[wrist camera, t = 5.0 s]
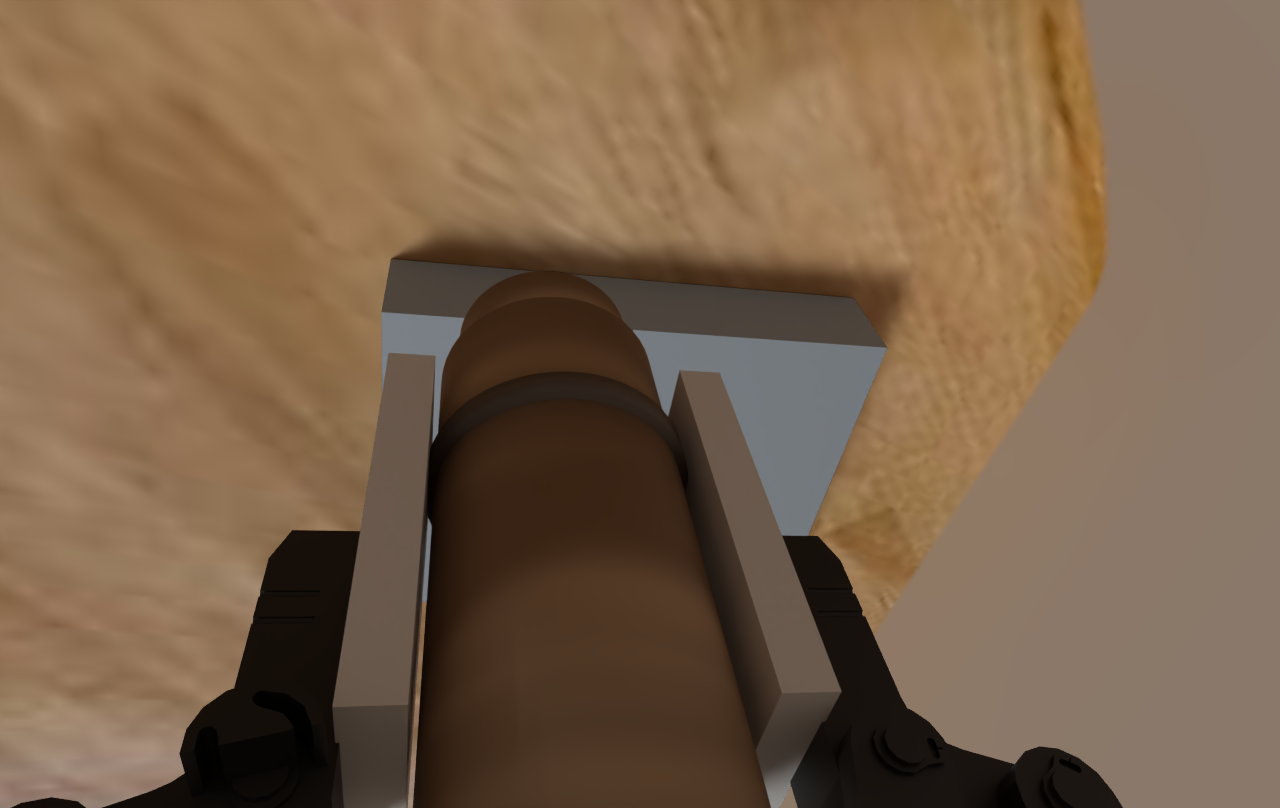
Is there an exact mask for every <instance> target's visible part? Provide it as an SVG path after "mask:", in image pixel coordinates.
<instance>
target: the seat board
mask: <svg viewBox="0 0 1280 808" xmlns="http://www.w3.org/2000/svg"><path fill="white" fill-rule="evenodd" d="M527 272H534V271H527V270H515V269H503V268H492V267H480V266H468V265H456V264H444V263H432V262H420V261H409V260H397V259H391V262H390V267H389V273H388V278H387V284H386V290H385V295H384V301H383V307H382V312H381V313H382V391H383V385H384V378H385V372H386V366H387V359H388V353H401V354H418V355H434V356H436V358H435V387H434V415H433V441H434V439H435V437H436V435H437V433H438V425H439V410H440V395H441V381H442V373H443V368H444V365H445V361H446V358H447V356H448V354H449V352H450V350H451V348H452V346H453V345H454V343H455V342H456V341H457V339H458V338H459V337H460V332H461V327H462V324H463V321H464V318H465V316H466V314H467V312H468V310H469V309H470V307H471V306H472V304H473V303H474V302H475V301H476V300H477V299H478V298H479V296H480V295H481V294H483V293H484V292H485V291H486V290H487V289H489V288H490V287H492V286H493V285H495V284H496V283H498V282H500V281H502V280H504V279H507V278H509V277H512V276H515V275H518V274H522V273H527ZM571 275H574V274H571ZM575 276H577V277H580V278H582V279H585V280H587V281H588V282H590V283H592V284H594V285H595V286H597V287H598V288H599V289H601V290H602V291H603V292H604V293H605V294H606V295H607V296H608V297H609V298H610V299H611V300H612V301H613V303H614V304H615V305H616V307H617V309H618V311H619V313H620V315H621V317H622V320H623V322H625V323H626V324H627V325H628V326H629V327H630V328H631V329H632V330H633V332H634V333H635V334H636V336H637V337H638V338H639V339H640V341H641V343H642V345H643V347H644V349H645V351H646V354H647V356H648V359H649V363H650V366H651V370H652V374H653V377H654V381H655V385H656V388H657V392H658V396H659V399H660V403H661V407H662V410H663V411H664V412H665V413H666V415H667V416H668V415H669V411H670V407H671V403H672V399H673V395H674V391H675V387H676V382H677V378H678V374H679V370H684V371H700V372H717V373H720V374H721V377H722V380H723V382H724V385H725V388H726V390H727V393H728V395H729V398H730V401H731V403H732V406H733V409H734V411H735V414H736V416H737V419H738V422H739V424H740V427H741V430H742V432H743V435H744V437H745V440H746V443H747V445H748V448H749V450H750V453H751V456H752V458H753V461H754V464H755V466H756V469H757V471H758V474H759V477H760V479H761V482H762V485H763V487H764V490H765V492H766V495H767V498H768V500H769V503H770V506H771V508H772V511H773V513H774V516H775V519H776V521H777V524H778V526H779V529H780V532H781V534H782V535H786V536H808V534H809V532H810V529H811V527H812V524H813V522H814V520H815V517H816V515H817V513H818V510H819V508H820V506H821V503H822V501H823V499H824V496H825V494H826V491H827V489H828V487H829V484H830V482H831V480H832V477H833V475H834V473H835V470H836V468H837V465H838V463H839V461H840V458H841V456H842V454H843V451H844V449H845V447H846V444H847V442H848V439H849V437H850V435H851V432H852V430H853V428H854V425H855V423H856V421H857V418H858V416H859V413H860V411H861V409H862V406H863V404H864V402H865V399H866V397H867V395H868V392H869V390H870V388H871V385H872V383H873V380H874V378H875V376H876V373H877V371H878V369H879V366H880V364H881V362H882V359H883V357H884V354H885V352H886V350H887V347H886V345H885V344H884V342H883V341H882V339H881V338H880V336H879V335H878V333H877V332H876V330H875V329H874V328H873V326H872V325H871V323H870V322H869V320H868V319H867V317H866V316H865V314H864V313H863V311H862V310H861V308H860V307H859V305H858V304H857V302H856V301H855V299H854V298H847V297H835V296H823V295H811V294H799V293H788V292H776V291H764V290H752V289H740V288H728V287H717V286H705V285H693V284H681V283H669V282H657V281H646V280H634V279H622V278H610V277H598V276H586V275H575ZM431 530H432V525H431V523H430V521H429V519H428V530H427V544H426V558H425V571H424V585H423V599H422V602H425V601H427V590H428V575H429V560H430V545H431Z"/></svg>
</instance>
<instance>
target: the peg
mask: <svg viewBox="0 0 1280 808" xmlns="http://www.w3.org/2000/svg"><path fill="white" fill-rule="evenodd" d="M687 484H688V470H687V464H686V460H685V456H684V453H683V449H682V446H681V442H680V439H679V437H678V434H677V431H676V429H675V427H674V425H673V424H672V422H671V420H670V419H669V417H668V416H667V415H666V413H665V412H664V411H663V410H662V407H661V403H660V399H659V396H658V392H657V388H656V385H655V381H654V377H653V374H652V370H651V366H650V363H649V359H648V356H647V354H646V351H645V349H644V347H643V345H642V343H641V341H640V339H639V338H638V337H637V336H636V334H635V333H634V332H633V330H632V329H631V328H630V327H629V326H628V325H627V324H626V323H625V322H623V320H622V317H621V315H620V313H619V311H618V309H617V307H616V305H615V304H614V303H613V301H612V300H611V299H610V298H609V297H608V296H607V295H606V294H605V293H604V292H603V291H602V290H601V289H599V288H598V287H597V286H595V285H594V284H592V283H590V282H588V281H587V280H585V279H582V278H580V277H577V276H575V275H571V274H567V273H563V272H556V271H534V272H527V273H522V274H518V275H515V276H512V277H509V278H507V279H504V280H502V281H500V282H498V283H496V284H495V285H493V286H492V287H490V288H489V289H487V290H486V291H485V292H484V293H483V294H481V295H480V296H479V298H478V299H477V300H476V301H475V302H474V303H473V304H472V306H471V307H470V309H469V310H468V312H467V314H466V316H465V318H464V321H463V324H462V327H461V332H460V337H459V338H458V339H457V341H456V342H455V343H454V345H453V346H452V348H451V350H450V352H449V354H448V356H447V358H446V361H445V365H444V368H443V373H442V381H441V395H440V410H439V425H438V433H437V435H436V437H435V439H434V441H433V443H432V445H431V449H430V459H429V473H428V504H427V515H428V519H429V521H430V523H431V525H432V530H431V545H430V560H429V575H428V590H427V605H426V620H425V635H424V650H423V665H422V680H421V695H420V710H419V725H418V740H417V755H416V770H415V785H414V800H413V808H771V805H770V801H769V798H768V794H767V790H766V787H765V783H764V780H763V776H762V772H761V769H760V765H759V761H758V758H757V754H756V750H755V747H754V743H753V739H752V736H751V732H750V728H749V725H748V721H747V717H746V714H745V710H744V706H743V703H742V699H741V695H740V692H739V688H738V684H737V681H736V677H735V673H734V670H733V666H732V662H731V659H730V655H729V652H728V648H727V644H726V641H725V637H724V633H723V630H722V626H721V622H720V619H719V615H718V611H717V608H716V604H715V600H714V597H713V593H712V589H711V586H710V582H709V578H708V575H707V571H706V567H705V564H704V560H703V556H702V553H701V549H700V545H699V542H698V538H697V535H696V531H695V527H694V524H693V520H692V516H691V513H690V509H689V505H688V502H687V498H686V494H685V491H686V487H687Z"/></svg>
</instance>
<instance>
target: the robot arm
mask: <svg viewBox="0 0 1280 808" xmlns="http://www.w3.org/2000/svg"><path fill="white" fill-rule="evenodd" d="M435 358H436V356H434V355H418V354H401V353H388V359H387V366H386V372H385V378H384V385H383V391H382V397H381V404H380V410H379V416H378V423H377V429H376V435H375V441H374V448H373V454H372V460H371V467H370V473H369V479H368V486H367V492H366V498H365V505H364V511H363V517H362V523H361V530H360V531H307V530H292V531H291V533H290V534H289V535H288V536H287V537H286V538H285V540H284V541H283V542H282V543H281V544H280V546H279V547H278V548H277V549H276V550H275V552H274V553H273V554H272V555H271V556H270V558H269V560H268V564H267V567H266V571H265V575H264V579H263V582H262V586H261V590H260V597H258V601H257V605H256V608H255V612H254V616H253V624H251V627H250V631H249V635H248V638H247V642H246V646H245V650H244V653H243V657H242V661H241V665H240V668H239V672H238V676H237V680H236V683H235V687H234V689H231V690H228V691H226V692H224V693H223V694H222V695H220V696H219V697H217V698H216V699H214V700H213V701H212V702H210V703H209V704H207V705H206V706H204V707H203V708H202V710H201V711H200V712H199V714H198V715H197V716H196V717H195V719H194V720H193V721H192V723H191V724H190V725H189V727H188V728H187V729H186V733H185V736H184V740H183V743H182V747H181V750H180V757H181V761H182V764H183V768H184V771H185V774H183V775H182V776H180V777H179V778H177V779H176V780H174V781H173V782H171V783H169V784H166V785H164V786H162V787H159V788H157V789H155V790H152V791H150V792H147V793H144V794H142V795H139V796H136V797H133V798H130V799H127V800H124V801H121V802H118V803H115V804H112V805H109V806H106V807H103V808H408V794H409V780H410V766H411V752H412V738H413V724H414V710H415V696H416V683H417V669H418V655H419V641H420V627H421V613H422V599H423V585H424V571H425V558H426V544H427V530H428V515H427V504H428V473H429V459H430V449H431V445H432V443H433V415H434V387H435ZM668 417H669V419H670V420H671V422H672V424H673V425H674V427H675V429H676V431H677V434H678V437H679V439H680V442H681V446H682V449H683V453H684V456H685V460H686V464H687V470H688V484H687V487H686V491H685V494H686V498H687V502H688V505H689V509H690V513H691V516H692V520H693V524H694V527H695V531H696V535H697V538H698V542H699V545H700V549H701V553H702V556H703V560H704V564H705V567H706V571H707V575H708V578H709V582H710V586H711V589H712V593H713V597H714V600H715V604H716V608H717V611H718V615H719V619H720V622H721V626H722V630H723V633H724V637H725V641H726V644H727V648H728V652H729V655H730V659H731V662H732V666H733V670H734V673H735V677H736V681H737V684H738V688H739V692H740V695H741V699H742V703H743V706H744V710H745V714H746V717H747V721H748V725H749V728H750V732H751V736H752V739H753V743H754V747H755V750H756V754H757V758H758V761H759V765H760V769H761V772H762V776H763V780H764V783H765V787H766V790H767V794H768V798H769V801H770V805H771V808H775V807H780V805H781V803H782V801H783V799H784V798H785V796H786V794H787V792H788V790H789V788H790V787H792V790H793V793H794V796H795V800H796V803H797V807H798V808H1123V807H1122V806H1121V804H1120V802H1119V801H1118V799H1117V798H1116V796H1115V795H1114V793H1113V791H1112V790H1111V789H1110V788H1109V787H1108V785H1107V784H1106V783H1105V782H1104V780H1103V779H1102V778H1101V777H1100V775H1099V774H1098V773H1097V772H1096V771H1094V770H1093V769H1092V768H1091V767H1089V766H1088V765H1087V764H1085V763H1084V762H1083V761H1082V760H1080V759H1079V758H1077V757H1075V756H1073V755H1070V754H1069V753H1066V752H1064V751H1062V750H1060V749H1056V748H1048V747H1037V748H1034V749H1031V750H1028V751H1025V752H1024V753H1023V755H1022V756H1021V757H1020V758H1019V760H1018V761H1017V762H1016V763H1015V764H1012V763H1008V762H1004V761H1001V760H998V759H994V758H991V757H987V756H984V755H980V754H976V753H973V752H969V751H966V750H962V749H960V748H957V747H955V746H952V745H950V744H947V743H946V742H945V741H944V739H943V737H941V735H940V734H939V733H938V732H937V731H936V729H935V728H934V727H933V726H932V725H931V724H930V722H928V721H927V720H925V719H924V718H922V717H921V716H919V715H918V714H916V713H915V712H914V711H912V710H910V709H907V707H906V705H905V703H904V702H903V700H902V698H901V697H900V694H899V692H898V690H897V687H896V685H895V683H894V680H893V678H892V676H891V674H890V671H889V669H888V667H887V665H886V662H885V660H884V658H883V656H882V653H881V651H880V649H879V647H878V645H877V642H876V640H875V638H874V635H873V633H872V631H871V628H870V626H869V624H868V622H867V619H866V617H865V616H863V615H862V611H863V610H862V608H861V606H860V604H859V601H858V599H857V597H856V595H855V594H853V592H852V589H853V588H852V586H851V583H850V581H849V579H848V576H847V574H846V572H845V570H844V567H843V565H842V563H841V561H840V560H839V558H838V557H837V556H836V555H835V554H834V553H833V552H832V551H831V550H830V549H829V548H828V547H827V545H826V544H825V543H824V542H823V541H822V540H821V539H820V538H819V537H818V536H786V535H782V534H781V532H780V529H779V526H778V524H777V521H776V519H775V516H774V513H773V511H772V508H771V506H770V503H769V500H768V498H767V495H766V492H765V490H764V487H763V485H762V482H761V479H760V477H759V474H758V471H757V469H756V466H755V464H754V461H753V458H752V456H751V453H750V450H749V448H748V445H747V443H746V440H745V437H744V435H743V432H742V430H741V427H740V424H739V422H738V419H737V416H736V414H735V411H734V409H733V406H732V403H731V401H730V398H729V395H728V393H727V390H726V388H725V385H724V382H723V380H722V377H721V374H720V373H717V372H700V371H684V370H679V374H678V378H677V382H676V387H675V391H674V395H673V399H672V403H671V407H670V411H669V415H668ZM12 808H86V807H84V806H83V805H82V804H80V803H79V802H78V801H71V800H65V799H59V798H52V797H51V798H45V799H40V800H35V801H29V802H24V803H20V804H18V805H16V806H14V807H12Z"/></svg>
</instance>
